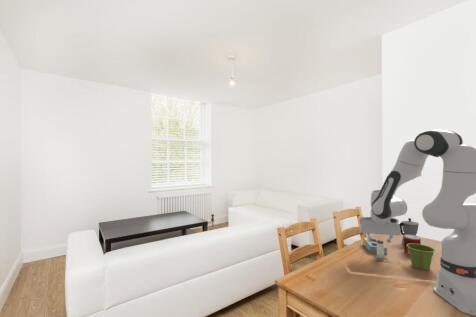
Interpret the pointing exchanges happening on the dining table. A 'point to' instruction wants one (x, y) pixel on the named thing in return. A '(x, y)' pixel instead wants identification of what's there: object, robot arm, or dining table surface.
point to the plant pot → (420, 255)
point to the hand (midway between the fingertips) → (379, 241)
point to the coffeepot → (408, 228)
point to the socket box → (372, 245)
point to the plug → (380, 249)
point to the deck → (381, 260)
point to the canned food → (410, 241)
